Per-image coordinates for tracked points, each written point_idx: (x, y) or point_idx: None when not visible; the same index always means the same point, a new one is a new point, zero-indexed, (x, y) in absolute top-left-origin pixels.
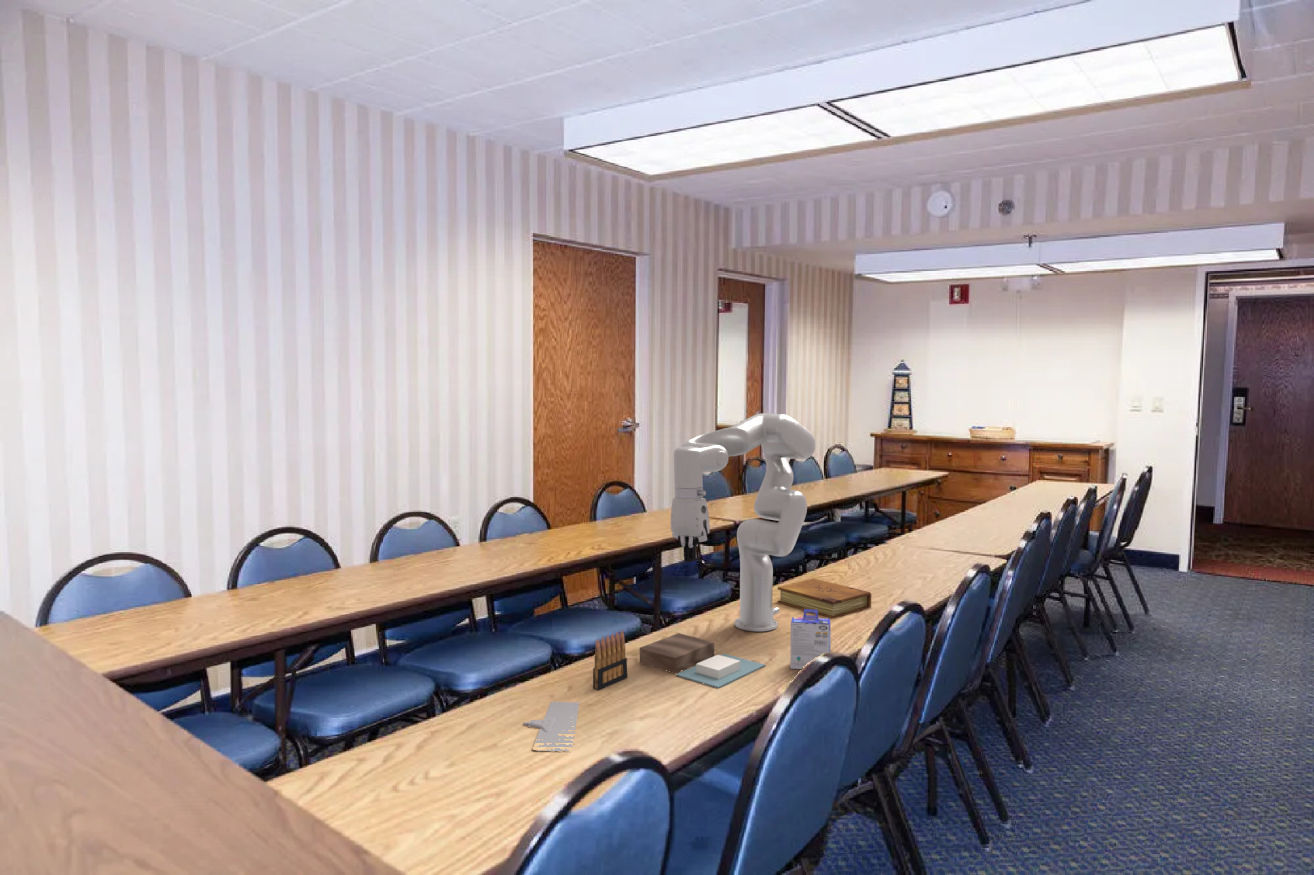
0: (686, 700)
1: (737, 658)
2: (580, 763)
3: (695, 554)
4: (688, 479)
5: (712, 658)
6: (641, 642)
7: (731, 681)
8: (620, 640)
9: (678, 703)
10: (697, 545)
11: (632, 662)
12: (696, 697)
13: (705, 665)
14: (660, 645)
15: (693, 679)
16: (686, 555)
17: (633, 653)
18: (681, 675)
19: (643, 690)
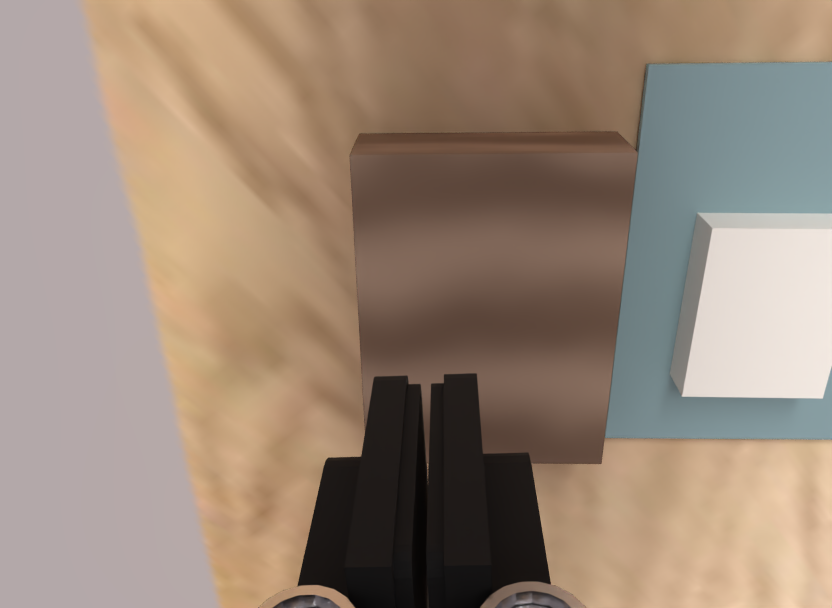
0: (776, 572)
1: (759, 83)
2: None
3: (535, 503)
4: None
5: (715, 293)
6: (148, 202)
7: None
8: None
9: (763, 602)
10: (574, 600)
11: (344, 429)
12: (796, 537)
13: (733, 386)
14: (423, 382)
15: (703, 438)
16: (427, 596)
17: (256, 347)
18: (633, 434)
19: (587, 592)
